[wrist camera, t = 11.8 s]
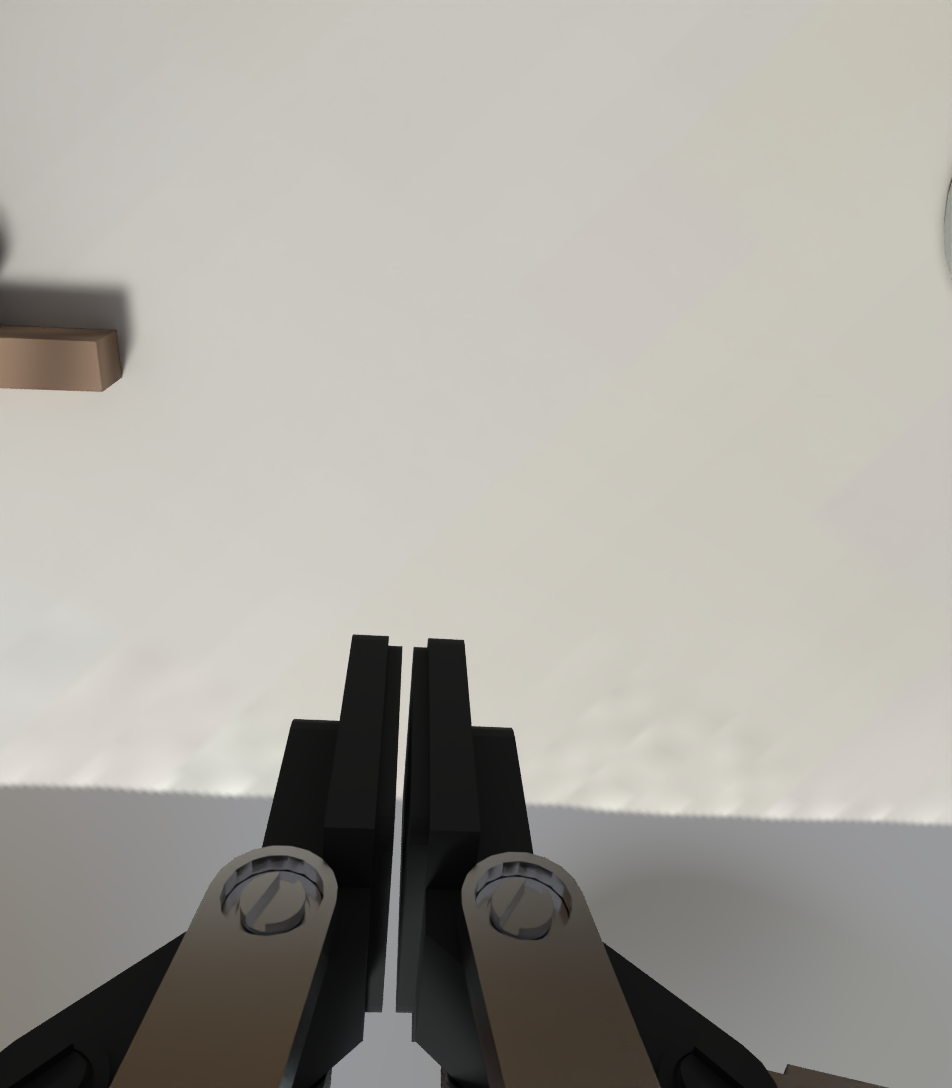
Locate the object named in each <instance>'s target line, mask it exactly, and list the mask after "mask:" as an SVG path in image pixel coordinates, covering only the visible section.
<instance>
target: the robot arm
mask: <svg viewBox="0 0 952 1088" xmlns="http://www.w3.org/2000/svg"><path fill="white" fill-rule="evenodd" d="M944 233H945V254H946V258H947V262H948V266H949V270H950V275H951V279H952V184H951V187H950V190H949V193H948V200H947V207H946V215H945V222H944ZM388 642H389V636H373V635H353V636H352V642H351V649H350V656H349V662H348V669H347V675H346V682H345V689H344V695H343V702H342V709H341V715H340V721H328V720H304V719H294V720H293V721H292V724H291V727H290V731H289V736H288V740H287V744H286V748H285V752H284V757H283V761H282V765H281V769H280V774H279V778H278V782H277V786H276V791H275V795H274V799H273V803H272V807H271V812H270V816H269V820H268V824H267V829H266V833H265V837H264V842H263V846H262V848H259V849H254V850H251V851H249V852H247V853H245V854H243V855H241V856H238V857H236V858H234V859H233V860H232V861H231V862H229V863H228V864H227V865H226V866H224V867H223V868H222V869H221V870H220V871H219V872H218V874H217V875H216V876H215V878H214V879H213V881H212V882H211V883H210V885H209V887H208V889H207V891H206V893H205V895H204V897H203V899H202V901H201V903H200V905H199V907H198V909H197V911H196V913H195V915H194V917H193V919H192V922H191V924H190V926H189V928H188V930H187V931H186V932H185V933H183V934H181V935H180V936H178V937H177V938H175V939H174V940H172V941H170V942H169V943H167V944H166V945H165V946H163V947H161V948H159V949H158V950H156V951H155V952H153V953H152V954H150V955H149V956H147V957H145V958H144V959H142V960H141V961H139V962H138V963H136V964H134V965H133V966H131V967H130V968H128V969H127V970H125V971H123V972H122V973H120V974H119V975H117V976H116V977H114V978H113V979H111V980H110V981H108V982H107V983H105V984H103V985H102V986H100V987H98V988H97V989H95V990H94V991H92V992H91V993H89V994H88V995H86V996H84V997H83V998H81V999H80V1000H78V1001H77V1002H75V1003H73V1004H72V1005H71V1006H69V1007H67V1008H66V1009H64V1010H62V1011H61V1012H59V1013H58V1014H56V1015H55V1016H53V1017H52V1018H50V1019H48V1020H47V1021H45V1022H44V1023H42V1024H41V1025H39V1026H37V1027H36V1028H34V1029H33V1030H31V1031H30V1032H28V1033H27V1034H25V1035H23V1036H22V1037H20V1038H19V1039H17V1040H16V1041H14V1042H13V1043H11V1044H10V1045H9V1046H8V1047H6V1048H5V1049H4V1050H3V1051H1V1052H0V1088H330V1085H331V1074H332V1067H333V1066H334V1065H336V1064H337V1063H338V1062H339V1061H340V1060H341V1059H342V1058H344V1056H346V1055H347V1054H348V1053H349V1052H350V1051H351V1050H353V1049H354V1048H355V1047H356V1046H357V1045H358V1044H359V1043H360V1042H362V1041H363V1031H364V1017H365V1012H382V1005H383V989H384V974H385V959H386V944H387V930H388V914H389V900H390V885H391V871H392V870H391V869H392V856H393V839H394V821H395V801H396V779H397V756H398V734H399V711H400V689H401V666H402V646H388ZM400 871H401V872H400V898H399V930H398V959H397V989H396V1012H403V1013H406V1012H408V1013H412V1042H417V1043H418V1044H419V1045H420V1046H421V1047H422V1048H423V1049H424V1050H425V1051H426V1052H427V1053H428V1054H429V1055H430V1056H431V1057H432V1058H433V1059H434V1060H435V1061H436V1062H437V1063H438V1064H440V1066H441V1088H887V1087H883V1086H879V1085H875V1084H871V1083H866V1082H862V1081H858V1080H854V1079H849V1078H845V1077H840V1076H836V1075H832V1074H828V1073H824V1072H819V1071H815V1070H811V1069H807V1068H802V1067H798V1066H794V1065H790V1064H787V1066H786V1068H785V1071H784V1074H781V1073H777V1072H773V1071H769V1070H766V1068H765V1067H764V1065H763V1064H762V1062H760V1061H759V1060H758V1059H757V1058H756V1057H755V1056H754V1055H753V1054H752V1053H751V1052H749V1050H747V1049H746V1048H745V1047H744V1046H743V1045H742V1044H740V1043H739V1042H738V1041H736V1040H735V1039H733V1038H732V1037H731V1036H729V1035H728V1034H727V1033H725V1032H724V1031H723V1030H721V1029H720V1028H718V1027H717V1026H716V1025H715V1024H713V1023H712V1022H711V1021H709V1020H708V1019H706V1018H705V1017H704V1016H702V1015H701V1014H700V1013H698V1012H697V1011H696V1010H694V1009H693V1008H692V1007H690V1006H689V1005H687V1004H686V1003H685V1002H683V1001H682V1000H681V999H679V998H678V997H677V996H675V995H674V994H673V993H671V992H670V991H668V990H667V989H666V988H664V987H663V986H662V985H660V984H659V983H658V982H656V981H655V980H654V979H652V978H651V977H649V976H648V975H647V974H645V973H644V972H643V971H641V970H640V969H639V968H637V967H636V966H635V965H633V964H632V963H631V962H629V961H628V960H626V959H625V958H624V957H622V956H621V955H620V954H618V953H617V952H616V951H614V950H613V949H612V948H610V947H609V946H607V945H606V944H605V943H603V942H602V940H601V937H600V935H599V932H598V930H597V927H596V925H595V922H594V920H593V917H592V915H591V912H590V910H589V907H588V905H587V903H586V900H585V897H584V895H583V893H582V891H581V889H580V887H579V886H578V884H577V882H576V881H575V879H574V878H573V877H572V876H571V875H570V874H569V873H568V872H567V871H566V870H564V869H563V868H562V867H561V866H560V865H558V864H556V863H554V862H552V861H550V860H549V859H547V858H545V857H541V856H538V855H534V854H533V849H532V843H531V836H530V830H529V824H528V818H527V811H526V805H525V798H524V792H523V786H522V779H521V773H520V767H519V760H518V754H517V748H516V741H515V736H514V732H513V729H512V728H501V727H477V726H471V714H470V702H469V690H468V678H467V667H466V655H465V644H464V640H453V639H433V638H428V645H427V648H423V647H414V650H413V663H412V677H411V691H410V705H409V719H408V733H407V747H406V761H405V775H404V790H403V808H402V837H401V868H400Z"/></svg>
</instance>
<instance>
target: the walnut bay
mask: <svg viewBox="0 0 952 1088" xmlns="http://www.w3.org/2000/svg"><path fill="white" fill-rule="evenodd" d="M120 378H122V375H121V367H120V359H119V350H118V342H117V334H116V330H96V329H73V328H49V327H26V326H2V325H0V388H11V389H39V390H67V391H95V392H103V391H104V390H105V389H107V388H108V387H110V386H111V385H112V384H114V383H115V382H116V381H118V380H119V379H120Z"/></svg>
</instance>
